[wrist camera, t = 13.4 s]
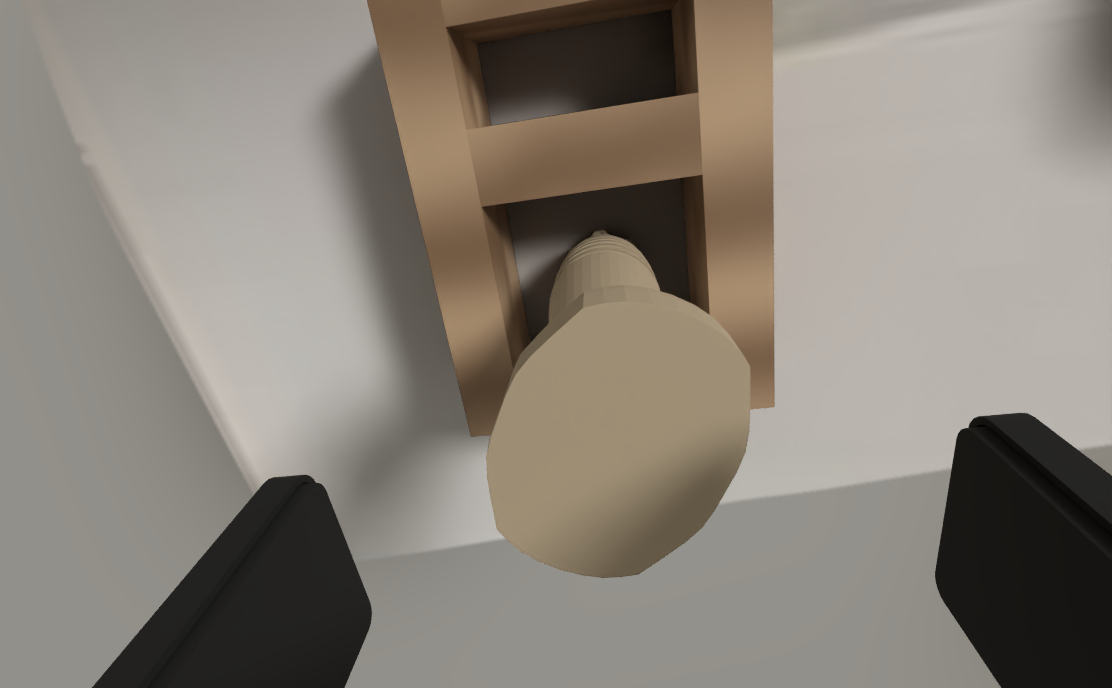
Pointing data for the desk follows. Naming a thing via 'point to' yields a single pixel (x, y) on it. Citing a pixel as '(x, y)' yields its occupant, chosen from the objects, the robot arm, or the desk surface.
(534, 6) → the wooden shelf
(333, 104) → the desk surface
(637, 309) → the handle
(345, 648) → the robot arm
